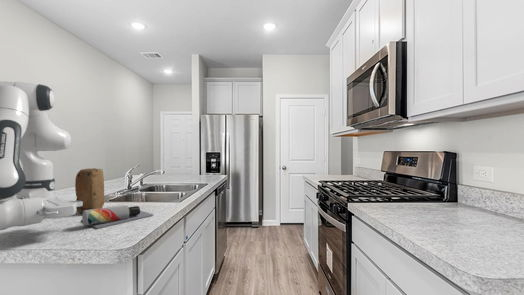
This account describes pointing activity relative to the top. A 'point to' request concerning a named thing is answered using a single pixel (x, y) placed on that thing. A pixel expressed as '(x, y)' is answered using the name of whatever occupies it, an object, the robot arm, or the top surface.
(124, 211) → the lotion bottle
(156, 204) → the top surface
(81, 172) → the block
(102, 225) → the mat
